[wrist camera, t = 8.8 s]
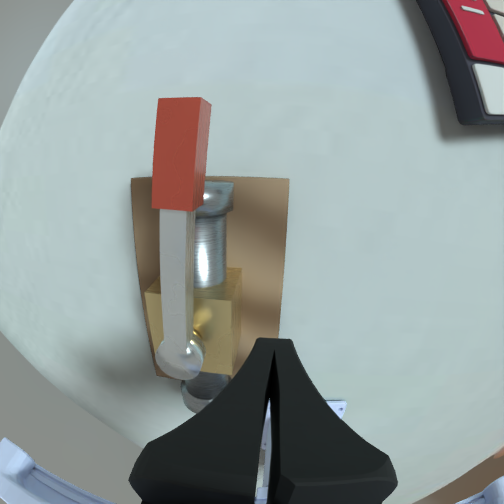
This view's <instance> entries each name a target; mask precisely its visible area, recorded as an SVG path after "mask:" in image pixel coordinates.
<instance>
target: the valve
mask: <svg viewBox="0 0 504 504" xmlns="http://www.w3.org/2000/svg"><path fill="white" fill-rule="evenodd" d="M233 198H234V182H231V181H225V180H205V187H204V203H203V205H201V206H200V207H198V208H197V209H196V215H195V239H194V283H193V329H194V334H195V335H196V336H198V337H199V338H200V339H201V340H202V342H203V343H204V345H205V347H206V356H205V358H204V361H203V364H202V367H201V370H200V372H199V374H198V375H197V376H196V377H195V378H192V379H189V380H182V382H181V390H182V396H183V401H184V403H185V405H186V407H187V408H188V409H189V410H191V411H192V412H194V413H196V414H197V413H198V412H200V411H201V410H202V409H203V408H204V407H205V406H207V405H208V404H209V403H210V402H211V401H212V400H213V399H214V398H215V397H216V396H217V395H218V394H219V393H220V392H221V391H222V390H223V389H224V388H225V387H226V386H227V385H228V384H229V382H230V381H231V380H232V378H231V377H230V376H229V375H232V373H233V369H234V364H235V360H236V355H237V351H238V346H239V341H240V337H241V305H242V268H235V267H227V213H228V212H231V211H232V210H233ZM144 293H145V300H146V306H147V313H148V319H149V325H150V330H151V336H152V341H153V346H154V351H155V353H156V351H157V349H158V347H159V346H160V344H161V342H162V341H163V339H164V331H163V317H162V301H161V279H160V276H159V277H158V278H157V279H156V280H155V281H154V283H153V284H152V285H151V286H150V287H149V288H148V289H147V290H146V291H145V292H144Z"/></svg>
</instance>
